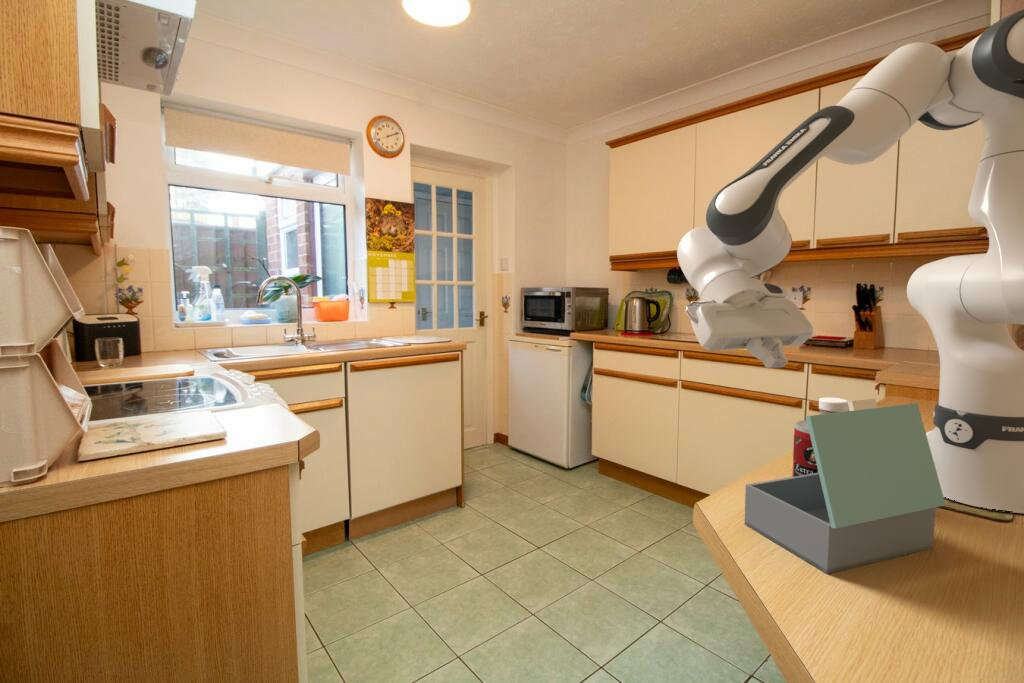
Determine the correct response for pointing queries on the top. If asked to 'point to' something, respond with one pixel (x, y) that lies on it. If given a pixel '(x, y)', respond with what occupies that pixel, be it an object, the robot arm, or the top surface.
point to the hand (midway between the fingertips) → (778, 365)
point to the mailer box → (807, 530)
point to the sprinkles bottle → (832, 405)
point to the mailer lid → (874, 462)
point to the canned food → (803, 451)
